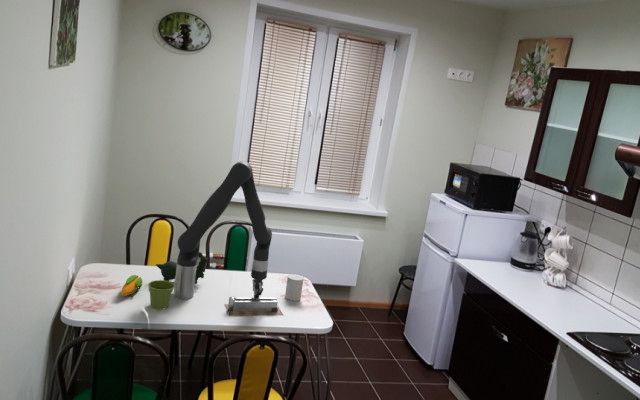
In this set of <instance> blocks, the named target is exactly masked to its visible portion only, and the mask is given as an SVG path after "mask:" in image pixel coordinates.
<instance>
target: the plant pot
mask: <svg viewBox="0 0 640 400" xmlns="http://www.w3.org/2000/svg"><path fill="white" fill-rule="evenodd" d="M147 286H148V290H149V299H150V300H149V301H150V307H151V308H152V309H154V310H165V309H167V308H168V307H169V304H170V300H171V296H172V293H173V292H174V287H175V285H174V282H172V281H164V280H161V279H160V280H159V279H158V280H151V281H149V282H148V283H147Z"/></svg>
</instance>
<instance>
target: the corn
mask: <svg viewBox="0 0 640 400" xmlns="http://www.w3.org/2000/svg"><path fill="white" fill-rule="evenodd" d="M142 286H143V279H142V277H141V276H139V275H136V274H132V275H131V276H129V277H128V278H127V279H126V281H125V283H124V284H123V286H122V287H121V292H120V294H121V295H122V297H127V296H130V295H131V297H134V296H135V295H136V294H137V293H138V292H139V291H140V290H141V287H142ZM138 287H139V289H138ZM136 291H137V292H136ZM135 292H136V293H135Z"/></svg>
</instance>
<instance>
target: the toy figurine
mask: <svg viewBox="0 0 640 400" xmlns="http://www.w3.org/2000/svg"><path fill="white" fill-rule="evenodd" d="M199 258H200V261H199V260H198V261H199V262H198V263H197V264H198V265H197V266H196V276H195V285H197V284H198V281H199V278H201V279H204V278H205V272H206V267H207V263H208V257H207V256H205V255H203V253H202V252H200V251H199V255H198V259H199ZM155 266H156V267H157V268H158V269H159V270H160V273H161V276H162V279H163V280H164V281H169V282H171V280H175V276H176V268H177V261H176V262H175V261H173V260H169V261H168V260H167V261H166V262H164V263H163V264H162V263H155Z"/></svg>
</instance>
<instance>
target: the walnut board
mask: <svg viewBox="0 0 640 400" xmlns="http://www.w3.org/2000/svg"><path fill="white" fill-rule="evenodd" d="M228 304H229V303H228ZM228 304H227V303H226V304H225V303H224V307H225V309H226V311H227V314H228V316H229V317H246V316H247V317H249V316H250V317H253V316H254V317H256V316H260V317H261V316H262V317H264V316H284V313H283V311H282V310H281V309H280V307H279V305H278V304H277V307H278V312H233V311H228Z"/></svg>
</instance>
